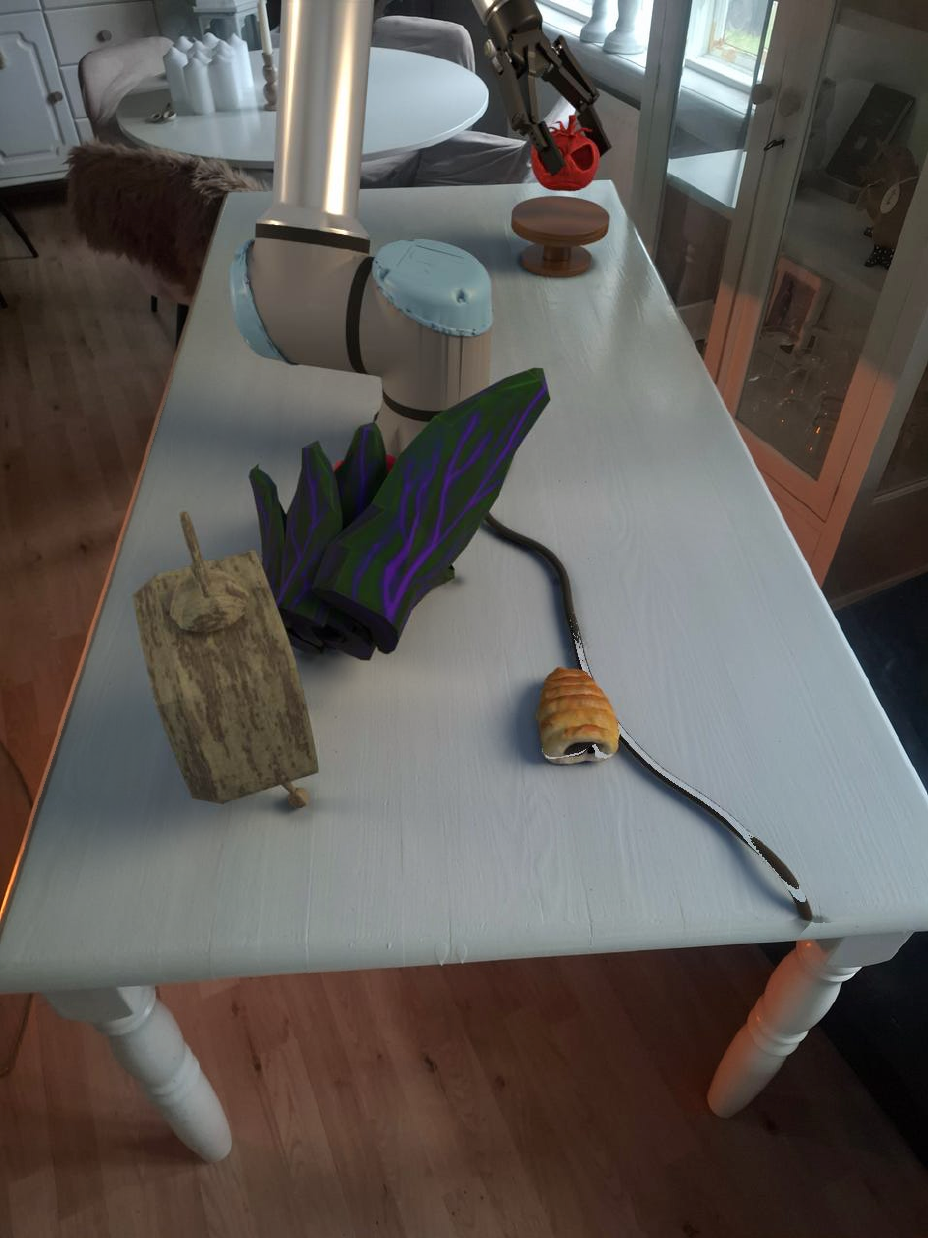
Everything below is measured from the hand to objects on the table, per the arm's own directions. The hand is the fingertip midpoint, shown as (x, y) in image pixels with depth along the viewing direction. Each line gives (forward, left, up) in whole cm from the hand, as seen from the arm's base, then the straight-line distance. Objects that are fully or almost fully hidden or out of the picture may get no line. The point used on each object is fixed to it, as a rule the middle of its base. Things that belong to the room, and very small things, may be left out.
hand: (582, 161), depth 124 cm
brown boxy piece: (-88, +47, -16) cm, 101 cm away
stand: (+2, +2, -16) cm, 16 cm away
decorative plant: (-68, +35, -16) cm, 78 cm away
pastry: (-88, +20, -16) cm, 91 cm away
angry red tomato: (+2, +2, -4) cm, 5 cm away
